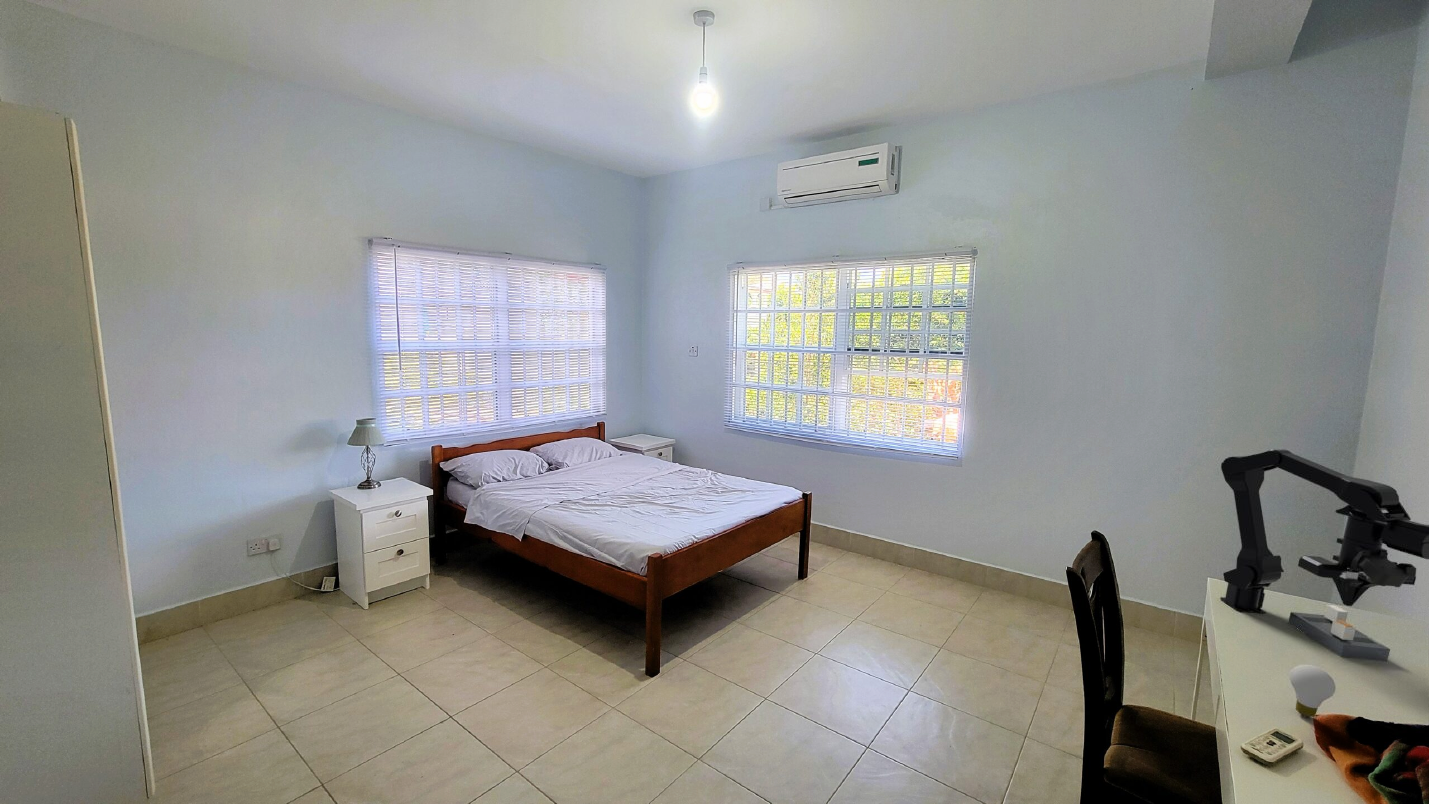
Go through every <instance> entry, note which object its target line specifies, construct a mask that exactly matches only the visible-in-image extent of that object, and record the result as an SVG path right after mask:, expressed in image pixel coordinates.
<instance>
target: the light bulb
mask: <svg viewBox="0 0 1429 804" xmlns="http://www.w3.org/2000/svg"><path fill="white" fill-rule="evenodd" d="M1289 681H1290V684H1291V686H1292V687H1293V690H1294V693H1295V699H1296V703H1295V710H1296V711H1297V712H1298V714H1299V715H1301V716H1302V717H1304V716H1305V717H1304V718H1314V717H1316V716H1317V711H1318V709H1319V707H1321V705H1322V703H1323V702H1325V701H1326V700H1329V699H1330V698H1332V697H1333V696H1334V694H1335V692H1336V684H1335V683H1336V682H1335V681H1334V679H1333V678H1332V676H1331V675H1330V674H1329V672H1327V671H1325V670H1324V669H1322V668H1321V667H1318V666H1316V665H1313V664H1312V665H1311V664H1298V665H1296V666H1295V667H1293V668H1292V669H1291V671H1290V673H1289Z"/></svg>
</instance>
